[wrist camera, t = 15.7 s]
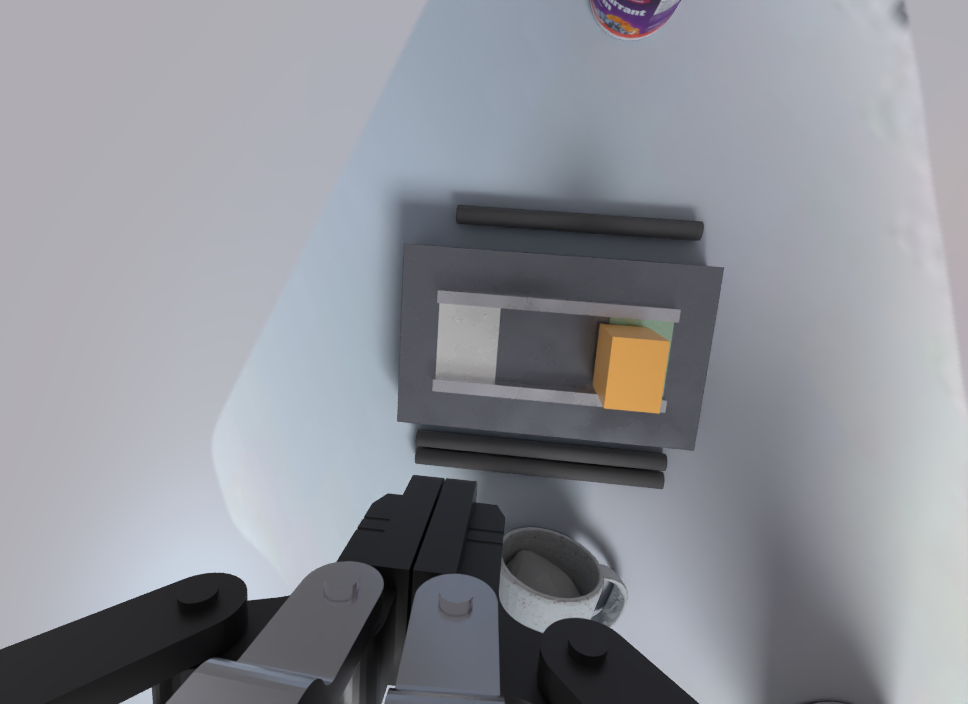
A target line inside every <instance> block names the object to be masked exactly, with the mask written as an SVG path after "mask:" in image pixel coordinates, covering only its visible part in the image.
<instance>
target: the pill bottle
mask: <svg viewBox="0 0 968 704" xmlns="http://www.w3.org/2000/svg"><path fill="white" fill-rule="evenodd" d="M680 1H681V0H590V5H591V10H592V13H593V15H594V18H595V20H596V21H597V23H598V24H599V26H600V27H601V28H602V29H603V30H604V31H605V32H606V33H608V34H609V35H611V36H613V37H615V38H617V39H621V40H626V41H633V40H640V39H643V38H646V37H648V36H650V35H652V34H653V33H655V32H656V31H658V30H659V29H660V28H661V27H662V26H663V25H664V24H665V23H666V22H667V20H668V19H669V18H670V17H671V15H672V14H673V12H674V11H675V9H676V8H677V6H678V4H679V3H680Z"/></svg>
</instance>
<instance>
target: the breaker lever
mask: <svg viewBox="0 0 968 704" xmlns="http://www.w3.org/2000/svg"><path fill="white" fill-rule="evenodd" d="M669 346H670V341H669V340H667V339H665V338H664V337H662V336H661V335H659V334H658V333H656V332H655V331H653V330H651V329H650V328H648V327H636V326H624V325H612V324H600V326H599V335H598V343H597V351H596V360H595V368H594V377H593V387H594V389H595V391H596V393H597V395H598V397H599V399H600V401H601V404H602V406H603V408H605V409H615V410H626V411H637V412H647V413H658V414H660V407H661V400H662V393H663V387H664V380H665V373H666V367H667V360H668V353H669Z"/></svg>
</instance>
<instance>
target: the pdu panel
mask: <svg viewBox="0 0 968 704" xmlns="http://www.w3.org/2000/svg"><path fill="white" fill-rule="evenodd" d="M723 271H724V267H713V266H700V265H687V264H673V263H660V262H646V261H632V260H619V259H605V258H592V257H578V256H565V255H551V254H537V253H524V252H510V251H497V250H483V249H469V248H456V247H442V246H429V245H415V244H404V261H403V287H402V312H401V338H400V363H399V389H398V415H397V422H408V423H418V424H428V425H438V426H448V427H458V428H469V429H479V430H489V431H499V432H509V433H520V434H530V435H540V436H550V437H560V438H571V439H581V440H591V441H601V442H611V443H621V444H632V445H642V446H652V447H662V448H672V449H683V450H693V451H694V447H695V441H696V435H697V429H698V423H699V417H700V411H701V404H702V398H703V392H704V386H705V380H706V374H707V368H708V362H709V356H710V350H711V344H712V338H713V332H714V326H715V320H716V314H717V308H718V302H719V296H720V290H721V284H722V277H723ZM600 324H612V325H624V326H636V327H648V328H650V329H651V330H653V331H655V332H656V333H658V334H659V335H661V336H662V337H664V338H665V339H667V340H669V341H670V346H669V353H668V360H667V367H666V373H665V380H664V387H663V393H662V400H661V407H660V414H658V413H647V412H637V411H626V410H615V409H605V408H603V406H602V404H601V401H600V399H599V397H598V395H597V393H596V391H595V389H594V387H593V377H594V368H595V360H596V351H597V343H598V335H599V326H600Z"/></svg>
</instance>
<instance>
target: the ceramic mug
mask: <svg viewBox="0 0 968 704" xmlns="http://www.w3.org/2000/svg"><path fill="white" fill-rule="evenodd" d="M604 580H606V581H610V582H612V583H613V584H614V586H613V589H612V591H611V593H610V596H609V598H608V600H607V602H606V604H605V606H604V607H603V608H602V610H601V611H600V612H599V613H598V614H597V615H595V616H593V617H592V615H593V612H594V610H595V607H596V605H597V602H598V600H599V597H600V595H601V592H602V588H603V584H604ZM499 598H500V602H501V604H502V606H503V607H504V609H505V610H506V612H507V613H508V614H509V615H510V616H511V617H512V618H514V619H515V620H516V621H518V622H519V623H521V624H523V625H525V626H527V627H529V628H531V629H534V630H536V631H539V632H542V633H543V632H544V631H545V629H546V628H547V627H548V626H549V625H551V624H552V623H554V622H556V621H558V620H561V619H566V618H585V619H590V620H593V621H596V622H599V623H601V624H604V625H606V626H608V627H609V628H611V627H612V626H613V625H614V624H615V623H616V622H617V620H618V619H619V618H620V616H621V615H622V613H623V611H624V609H625V606H626V603H627V599H628V593H627V589H626V587H625V585H624V583H623V582H622V581H621V579H620V578H619V577H618V575H617V574H616V573H615V572H614V571H613V570H612V569H611V568H609V567H607V566H605V565H601V564H599V563H598V561H597V560H596V558H595V557H594V556H593V555H592V554H591V553H590V552H589V551H588V550H587V549H586V548H585V547H584V546H582V545H581V544H579V543H578V542H576V541H575V540H573V539H571V538H570V537H567V536H565V535H563V534H561V533H558V532H555V531H552V530H548V529H544V528H538V527H523V528H517V529H514V530H512V531H510V532H508V533H507V534H505V535H504V537H503V549H502V560H501V572H500V584H499ZM591 617H592V618H591Z"/></svg>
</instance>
